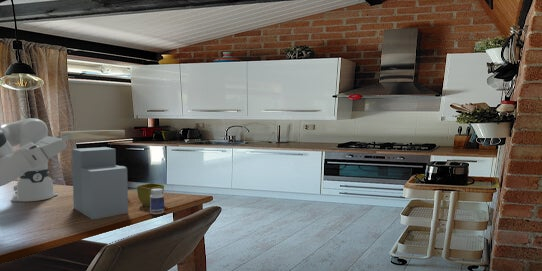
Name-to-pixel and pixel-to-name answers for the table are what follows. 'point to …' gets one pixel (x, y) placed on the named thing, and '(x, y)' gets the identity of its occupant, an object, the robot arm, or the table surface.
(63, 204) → the table surface
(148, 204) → the flower pot
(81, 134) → the wooden rod
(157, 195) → the pill bottle
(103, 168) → the stepped shelf
